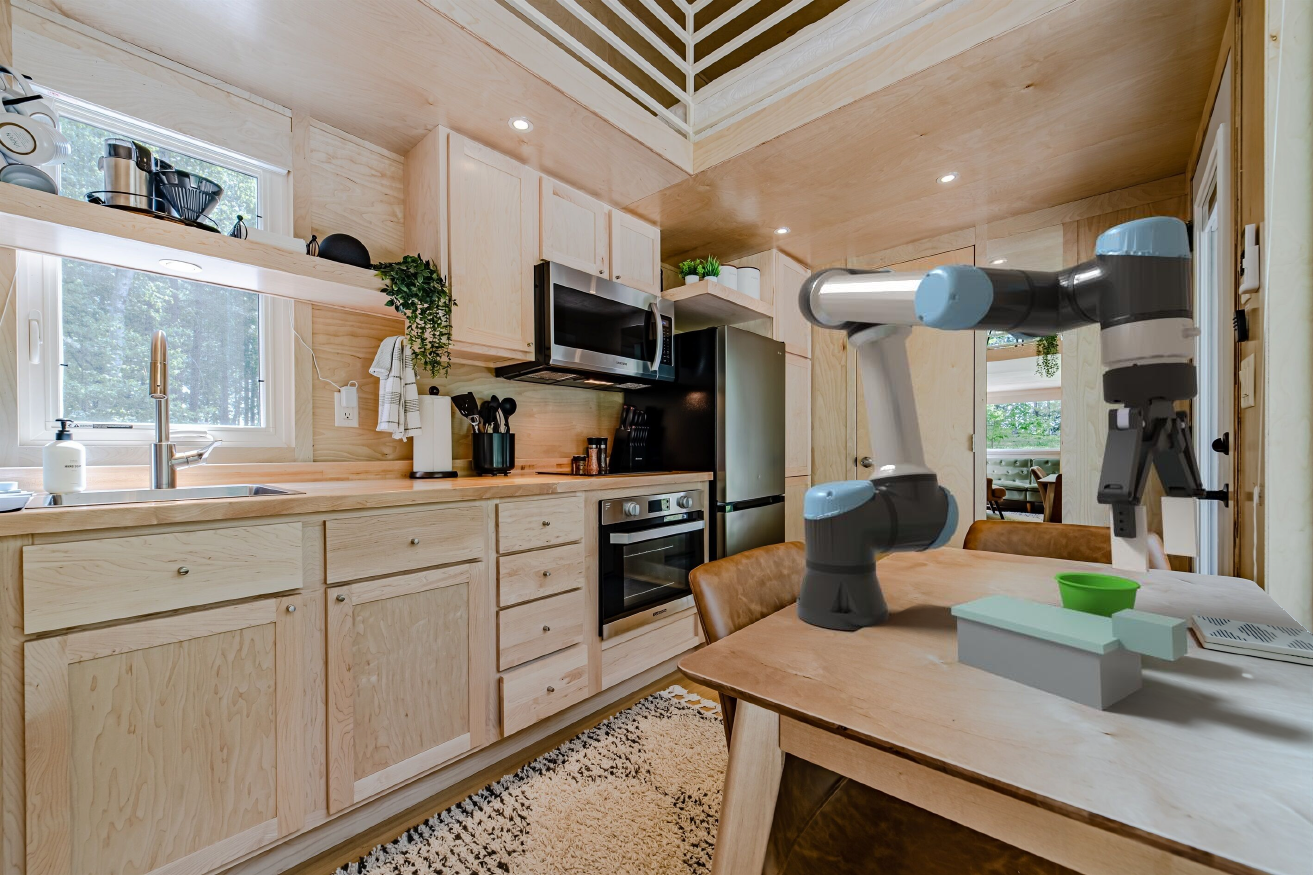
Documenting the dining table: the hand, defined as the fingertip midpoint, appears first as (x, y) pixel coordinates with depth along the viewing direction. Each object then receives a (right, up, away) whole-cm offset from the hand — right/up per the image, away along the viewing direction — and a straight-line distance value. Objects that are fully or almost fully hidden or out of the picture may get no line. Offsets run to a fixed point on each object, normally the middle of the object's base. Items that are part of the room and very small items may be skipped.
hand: (1157, 562), depth 58 cm
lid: (-4, -11, +8) cm, 14 cm away
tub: (-5, -17, +9) cm, 20 cm away
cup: (+6, -17, +15) cm, 23 cm away
